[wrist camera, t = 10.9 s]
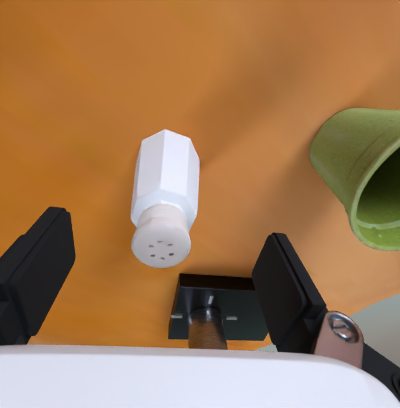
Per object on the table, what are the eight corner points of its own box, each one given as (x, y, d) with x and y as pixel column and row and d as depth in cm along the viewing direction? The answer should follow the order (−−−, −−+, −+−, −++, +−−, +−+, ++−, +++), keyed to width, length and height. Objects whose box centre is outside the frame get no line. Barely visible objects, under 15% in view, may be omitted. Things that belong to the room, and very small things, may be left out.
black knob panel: (166, 325, 34) (165, 340, 32) (177, 272, 28) (177, 288, 26) (259, 327, 36) (263, 342, 34) (286, 280, 30) (293, 294, 28)
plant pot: (397, 59, 17) (556, 62, 10) (399, 162, 22) (508, 215, 15) (278, 120, 19) (340, 161, 12) (304, 204, 24) (360, 270, 17)
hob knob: (216, 327, 31) (223, 372, 27) (184, 326, 30) (185, 372, 26) (225, 307, 29) (234, 353, 25) (191, 305, 28) (193, 352, 24)
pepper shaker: (200, 186, 22) (217, 283, 13) (141, 189, 21) (114, 292, 12) (199, 127, 19) (220, 197, 10) (130, 129, 18) (85, 205, 9)
